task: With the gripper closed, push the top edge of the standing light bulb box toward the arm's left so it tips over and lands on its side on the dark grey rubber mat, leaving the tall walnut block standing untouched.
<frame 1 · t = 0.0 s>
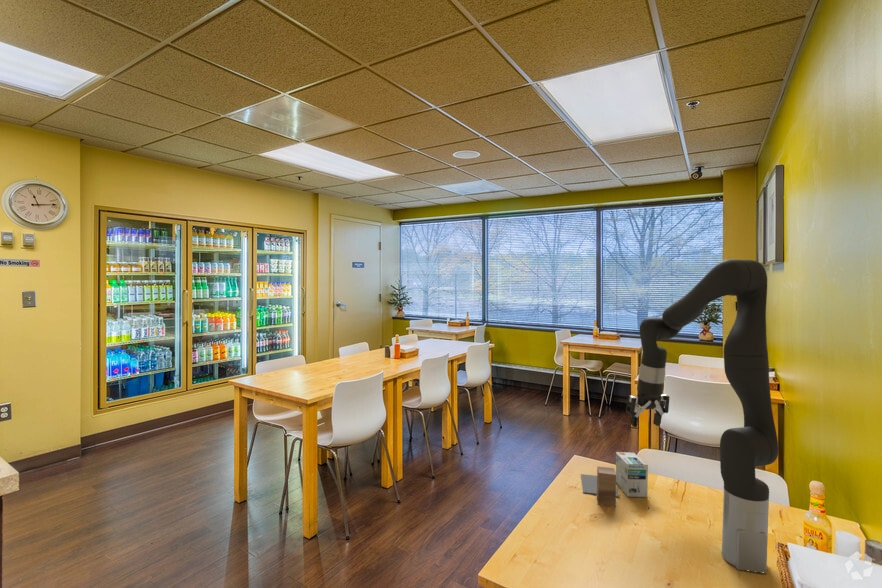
hand: (645, 425, 143), 22 cm above the table, tool pointing down, fingers open, 8 cm apart
mat: (599, 485, 149), on the table
walnut block: (605, 501, 138), on the table
light bulb box: (630, 490, 146), on the table
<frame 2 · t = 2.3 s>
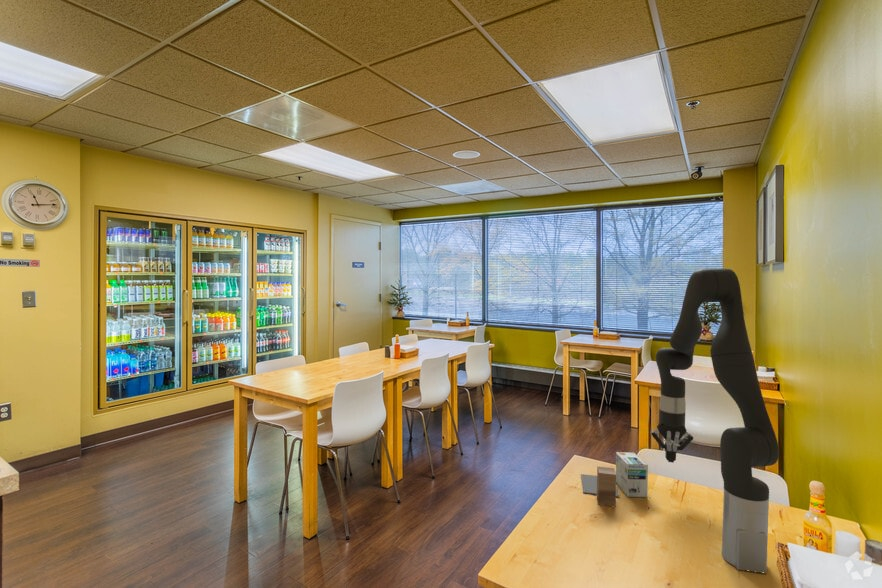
hand: (670, 461, 143), 11 cm above the table, tool pointing down, fingers closed
nothing on the table moved.
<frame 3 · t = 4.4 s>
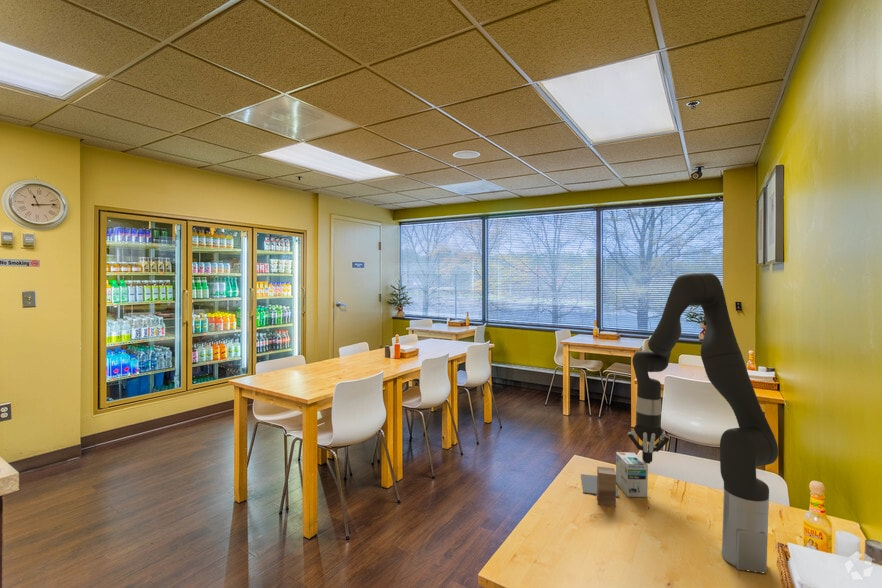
hand: (647, 462, 145), 10 cm above the table, tool pointing down, fingers closed
light bulb box: (630, 490, 146), on the table, touching gripper
everything else where it was.
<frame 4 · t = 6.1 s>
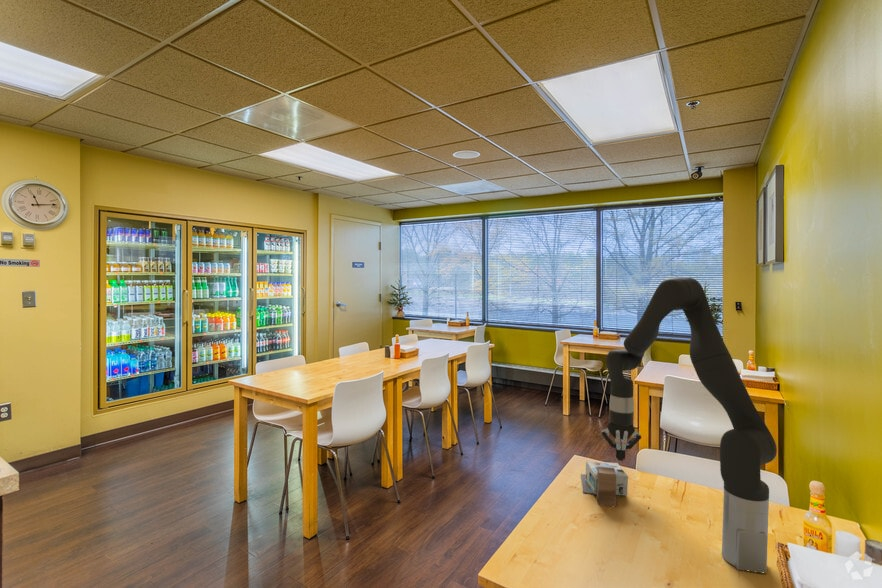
hand: (620, 459, 147), 10 cm above the table, tool pointing down, fingers closed
light bulb box: (622, 478, 146), point 4 cm above the table, touching mat
everything else where it was.
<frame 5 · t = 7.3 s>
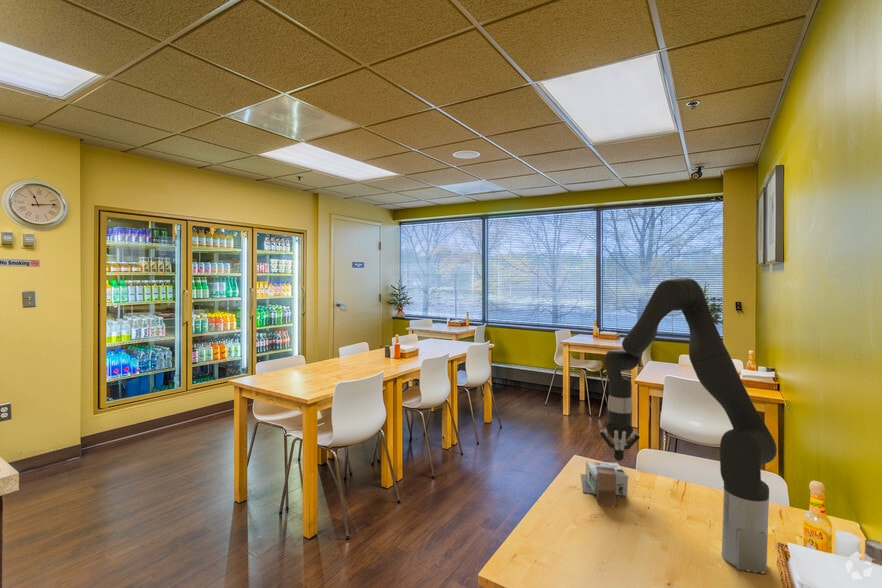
hand: (618, 460, 147), 9 cm above the table, tool pointing down, fingers closed
nothing on the table moved.
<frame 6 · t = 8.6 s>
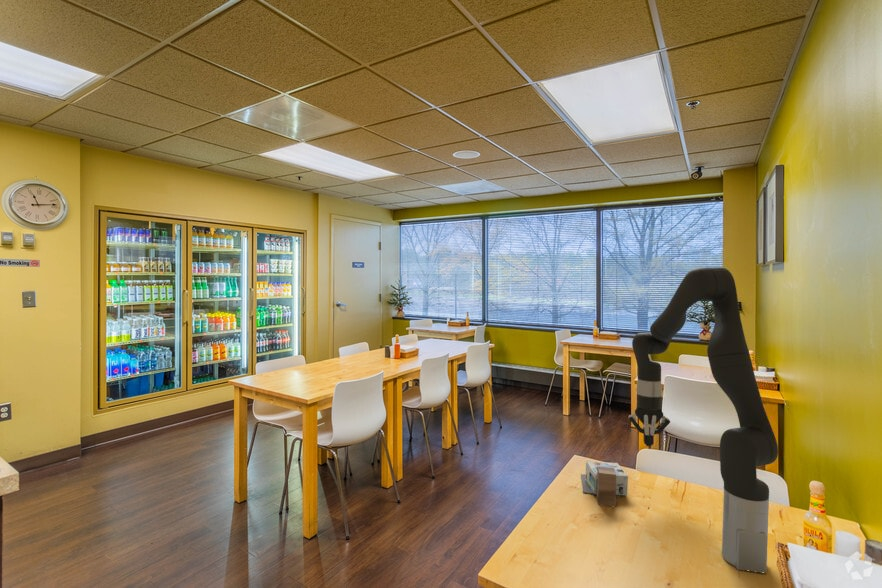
hand: (648, 445, 145), 15 cm above the table, tool pointing down, fingers closed
nothing on the table moved.
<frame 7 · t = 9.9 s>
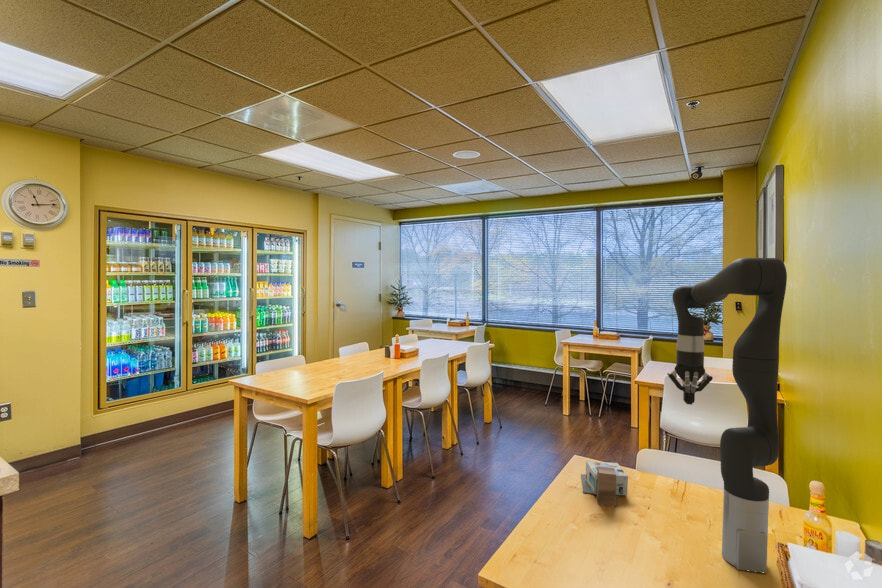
hand: (688, 403, 139), 31 cm above the table, tool pointing down, fingers closed
nothing on the table moved.
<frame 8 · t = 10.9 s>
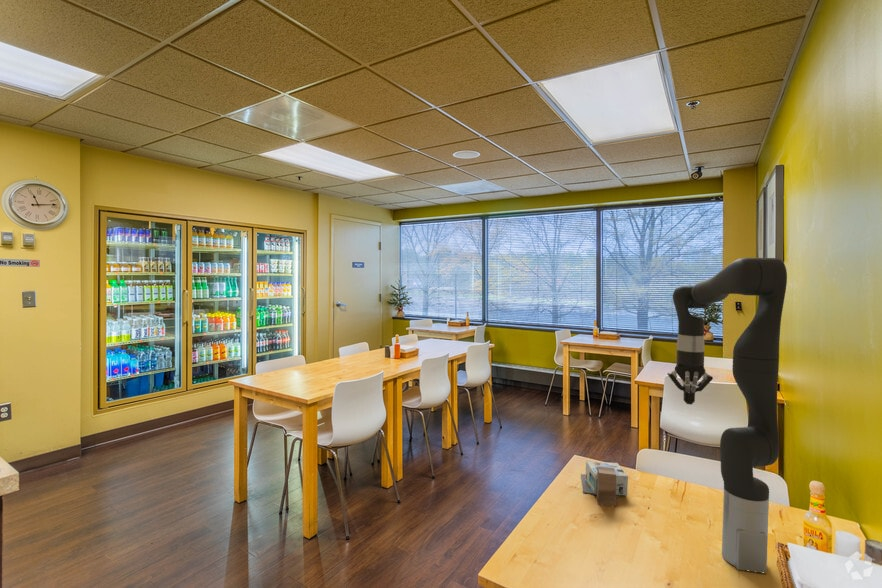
hand: (689, 403, 139), 31 cm above the table, tool pointing down, fingers closed
nothing on the table moved.
at the end: light bulb box tilted 89°; light bulb box 7.4 cm from the mat (horizontally); walnut block tilted 0° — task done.
